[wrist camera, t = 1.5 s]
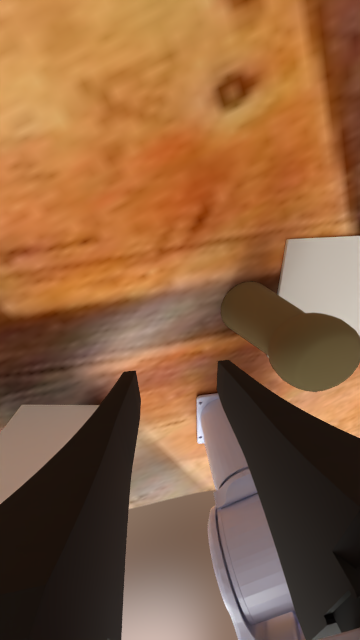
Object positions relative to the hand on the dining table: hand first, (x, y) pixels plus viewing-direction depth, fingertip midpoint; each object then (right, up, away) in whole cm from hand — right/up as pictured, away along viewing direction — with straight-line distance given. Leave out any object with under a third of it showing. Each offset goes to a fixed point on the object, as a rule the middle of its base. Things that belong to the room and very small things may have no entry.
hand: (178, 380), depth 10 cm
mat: (+18, +6, +11) cm, 22 cm away
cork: (+8, +5, +11) cm, 14 cm away
